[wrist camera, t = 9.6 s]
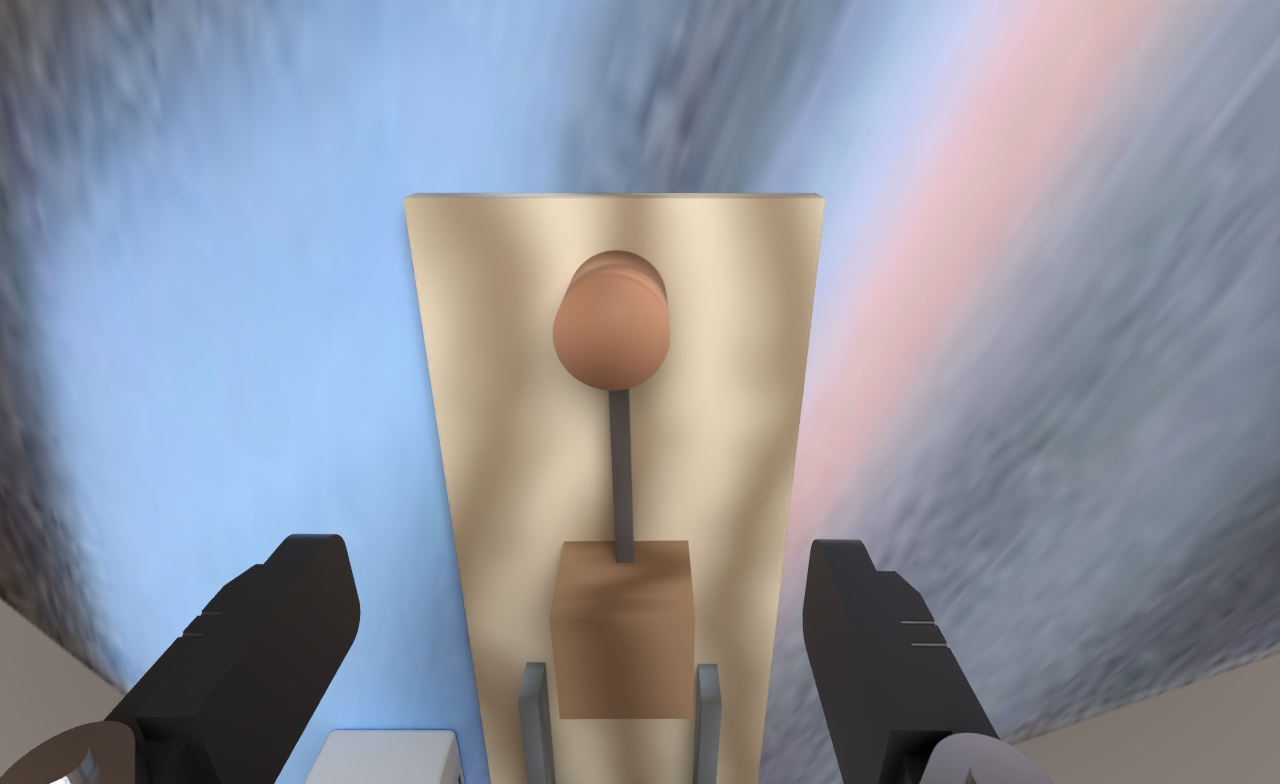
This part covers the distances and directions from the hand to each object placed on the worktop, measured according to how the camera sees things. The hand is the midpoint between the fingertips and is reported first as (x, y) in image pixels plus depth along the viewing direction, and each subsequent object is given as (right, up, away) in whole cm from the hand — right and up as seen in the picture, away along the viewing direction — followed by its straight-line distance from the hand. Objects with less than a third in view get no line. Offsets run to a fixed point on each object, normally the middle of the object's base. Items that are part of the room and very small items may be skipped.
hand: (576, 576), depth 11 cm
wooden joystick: (0, 0, +18) cm, 18 cm away
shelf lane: (0, -5, +22) cm, 23 cm away
